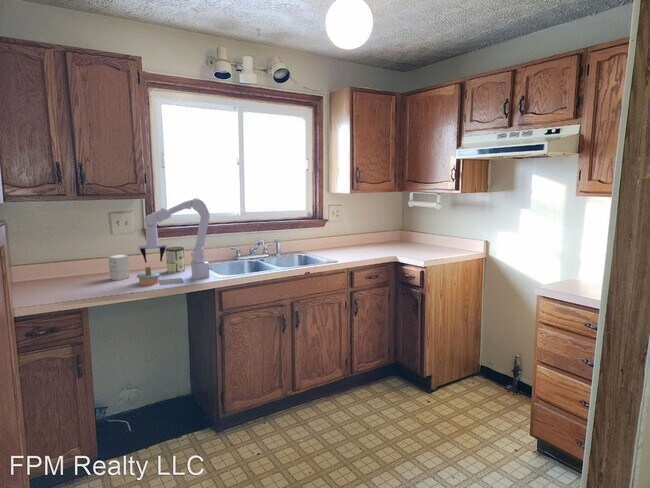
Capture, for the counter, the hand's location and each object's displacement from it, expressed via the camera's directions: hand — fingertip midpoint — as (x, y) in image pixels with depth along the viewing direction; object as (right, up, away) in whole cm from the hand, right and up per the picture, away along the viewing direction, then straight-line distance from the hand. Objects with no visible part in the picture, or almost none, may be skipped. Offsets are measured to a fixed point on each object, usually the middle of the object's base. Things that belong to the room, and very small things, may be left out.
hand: (153, 261), depth 229 cm
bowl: (0, -11, -5) cm, 12 cm away
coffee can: (+4, -7, +24) cm, 25 cm away
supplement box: (-21, -10, +5) cm, 23 cm away
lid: (0, -7, -6) cm, 9 cm away
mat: (+10, -11, -1) cm, 15 cm away
